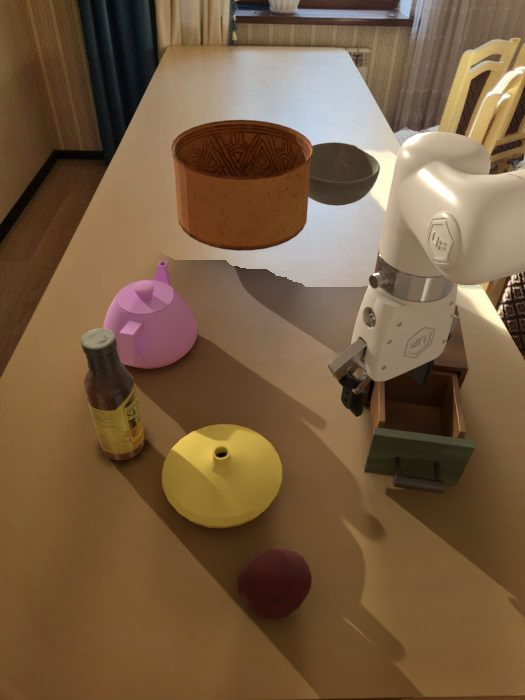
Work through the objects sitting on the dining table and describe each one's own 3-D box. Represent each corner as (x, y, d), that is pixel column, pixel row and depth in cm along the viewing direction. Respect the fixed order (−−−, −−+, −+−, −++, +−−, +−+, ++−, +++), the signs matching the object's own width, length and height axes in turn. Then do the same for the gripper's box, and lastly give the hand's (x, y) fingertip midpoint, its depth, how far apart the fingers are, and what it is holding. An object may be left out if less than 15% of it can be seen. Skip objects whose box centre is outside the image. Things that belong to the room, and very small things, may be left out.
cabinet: (450, 415, 82) (468, 368, 75) (360, 404, 84) (370, 357, 77) (441, 351, 93) (457, 305, 86) (362, 342, 94) (371, 295, 87)
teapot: (181, 394, 84) (174, 336, 76) (85, 383, 86) (68, 325, 77) (210, 307, 100) (207, 252, 92) (129, 299, 102) (119, 244, 93)
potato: (311, 630, 59) (315, 607, 55) (235, 627, 59) (235, 605, 55) (308, 564, 65) (312, 540, 61) (239, 562, 65) (238, 537, 61)
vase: (271, 548, 66) (273, 518, 61) (147, 526, 68) (139, 496, 63) (289, 446, 77) (291, 414, 73) (182, 429, 79) (178, 397, 74)
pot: (263, 286, 106) (265, 191, 92) (153, 244, 116) (141, 153, 102) (326, 226, 123) (337, 138, 109) (226, 194, 133) (224, 110, 120)
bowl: (275, 203, 131) (276, 163, 124) (318, 173, 143) (321, 135, 136) (349, 228, 122) (355, 187, 116) (387, 195, 135) (395, 155, 128)
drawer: (461, 514, 69) (480, 477, 63) (363, 500, 70) (373, 462, 65) (447, 409, 82) (462, 371, 76) (365, 399, 83) (373, 360, 78)
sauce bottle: (146, 460, 75) (124, 356, 62) (100, 465, 74) (68, 362, 61) (146, 423, 80) (125, 320, 66) (102, 428, 79) (73, 325, 66)
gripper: (368, 320, 46) (343, 444, 58) (508, 265, 52) (461, 386, 64) (318, 275, 51) (304, 398, 62) (452, 230, 57) (418, 349, 69)
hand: (384, 392), depth 63 cm, fingers open, 9 cm apart
